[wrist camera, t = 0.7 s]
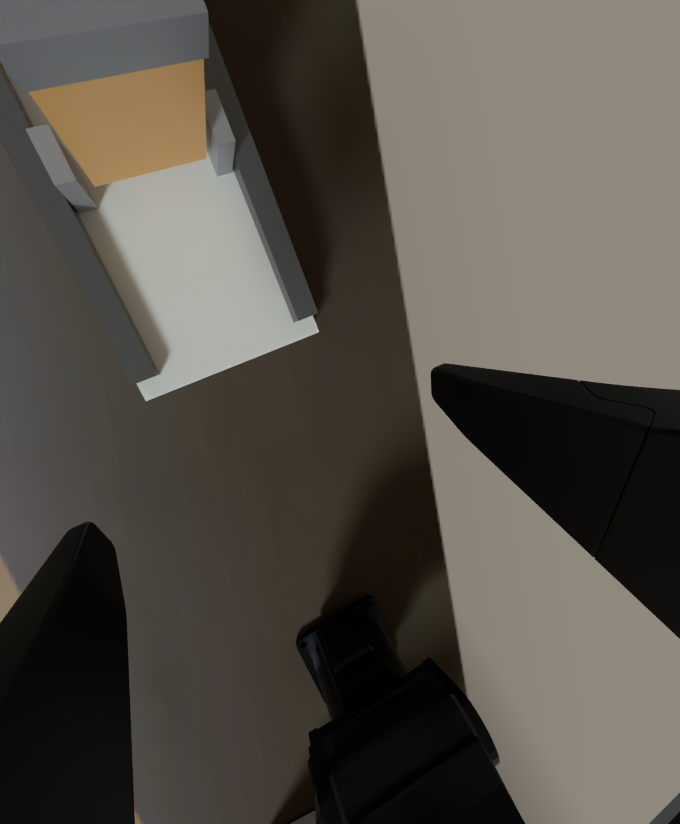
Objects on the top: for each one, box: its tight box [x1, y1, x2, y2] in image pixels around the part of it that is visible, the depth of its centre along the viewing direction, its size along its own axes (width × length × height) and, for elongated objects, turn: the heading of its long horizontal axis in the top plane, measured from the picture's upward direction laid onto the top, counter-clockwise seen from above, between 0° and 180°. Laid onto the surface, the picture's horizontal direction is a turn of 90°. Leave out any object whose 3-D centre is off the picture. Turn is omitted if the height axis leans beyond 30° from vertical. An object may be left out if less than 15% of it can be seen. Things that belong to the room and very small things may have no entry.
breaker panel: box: [0, 21, 319, 401], centre depth 18 cm, size 20×10×6 cm, turn 21°
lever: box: [0, 0, 209, 187], centre depth 13 cm, size 2×5×8 cm, turn 111°
